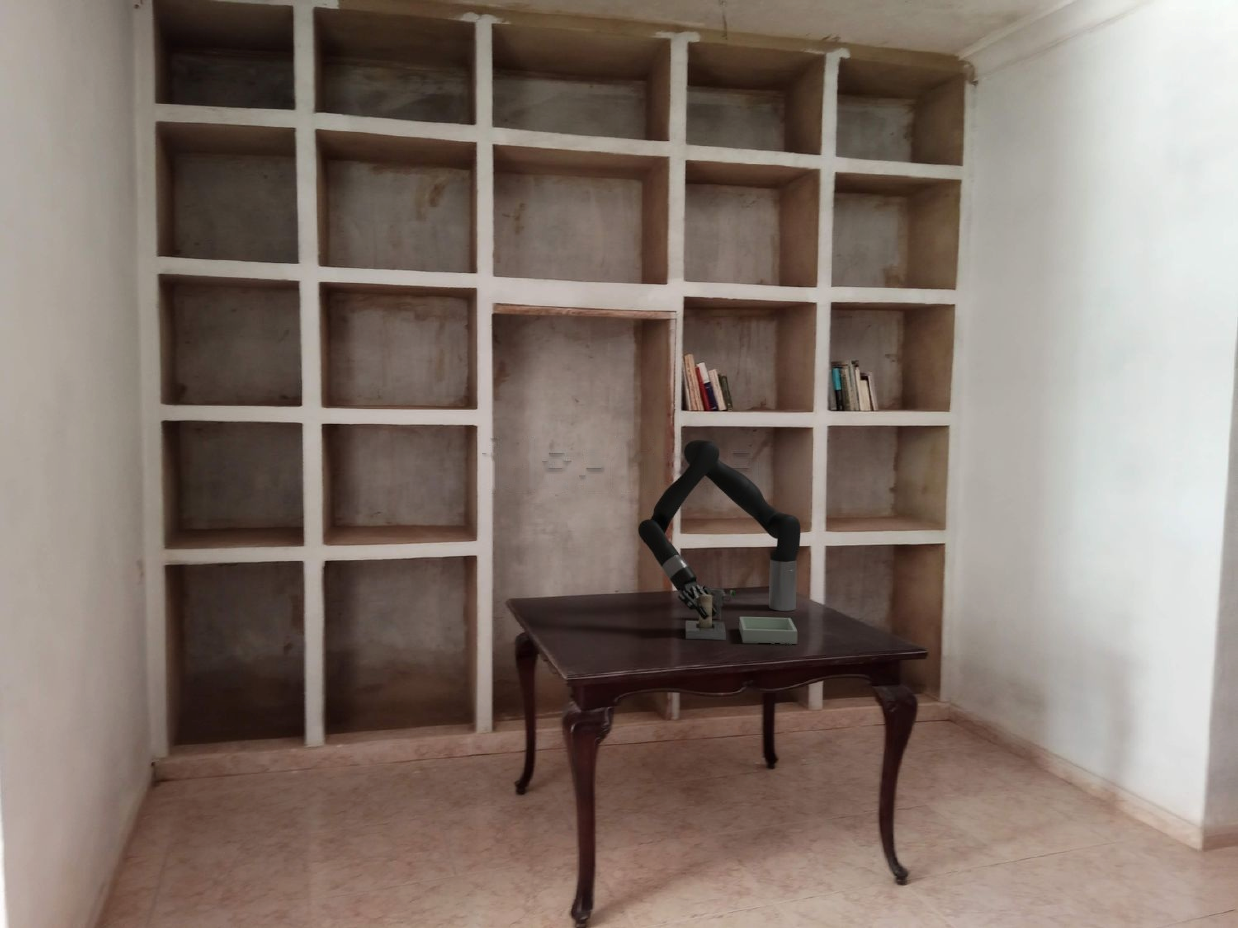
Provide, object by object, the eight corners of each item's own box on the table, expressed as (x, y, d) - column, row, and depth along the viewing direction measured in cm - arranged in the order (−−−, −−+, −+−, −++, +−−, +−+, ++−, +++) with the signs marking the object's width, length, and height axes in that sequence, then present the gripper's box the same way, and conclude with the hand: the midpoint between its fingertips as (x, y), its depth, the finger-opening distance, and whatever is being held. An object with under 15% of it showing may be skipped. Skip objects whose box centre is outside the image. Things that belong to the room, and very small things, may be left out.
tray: (739, 629, 270) (739, 616, 270) (790, 630, 269) (790, 617, 269) (742, 642, 254) (743, 629, 254) (797, 644, 253) (797, 631, 253)
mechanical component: (733, 621, 280) (734, 591, 279) (702, 619, 282) (703, 589, 281) (734, 618, 283) (734, 589, 282) (703, 617, 285) (704, 587, 284)
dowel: (698, 632, 266) (699, 594, 265) (711, 632, 266) (711, 594, 265) (698, 635, 262) (699, 597, 261) (711, 635, 262) (712, 597, 261)
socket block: (685, 628, 270) (685, 620, 270) (723, 629, 269) (723, 621, 269) (685, 638, 258) (685, 630, 258) (725, 639, 257) (725, 631, 257)
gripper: (673, 568, 262) (705, 613, 255) (698, 562, 273) (730, 605, 266) (659, 583, 265) (690, 628, 259) (685, 576, 276) (716, 619, 270)
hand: (710, 616), depth 262 cm, fingers closed on dowel, 4 cm apart
